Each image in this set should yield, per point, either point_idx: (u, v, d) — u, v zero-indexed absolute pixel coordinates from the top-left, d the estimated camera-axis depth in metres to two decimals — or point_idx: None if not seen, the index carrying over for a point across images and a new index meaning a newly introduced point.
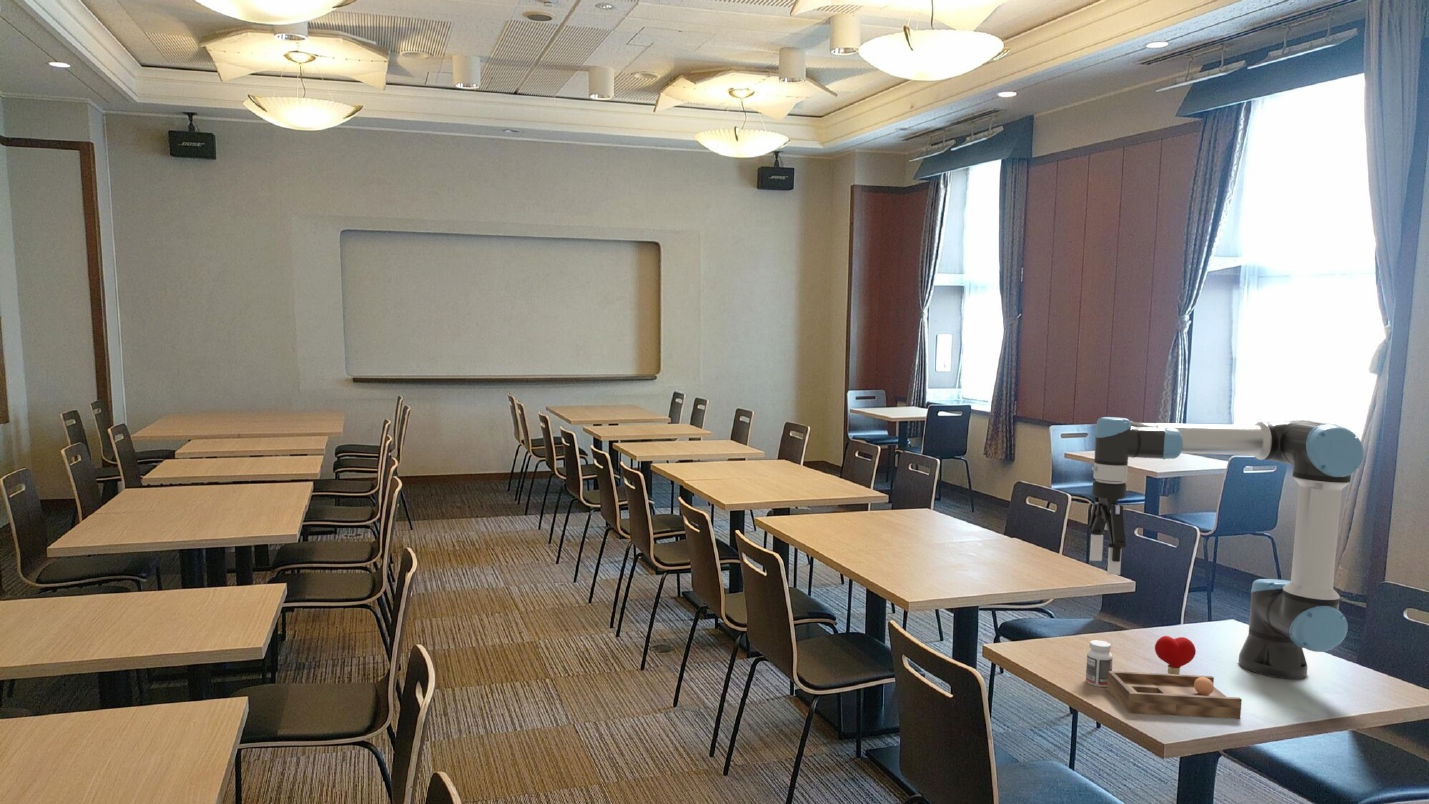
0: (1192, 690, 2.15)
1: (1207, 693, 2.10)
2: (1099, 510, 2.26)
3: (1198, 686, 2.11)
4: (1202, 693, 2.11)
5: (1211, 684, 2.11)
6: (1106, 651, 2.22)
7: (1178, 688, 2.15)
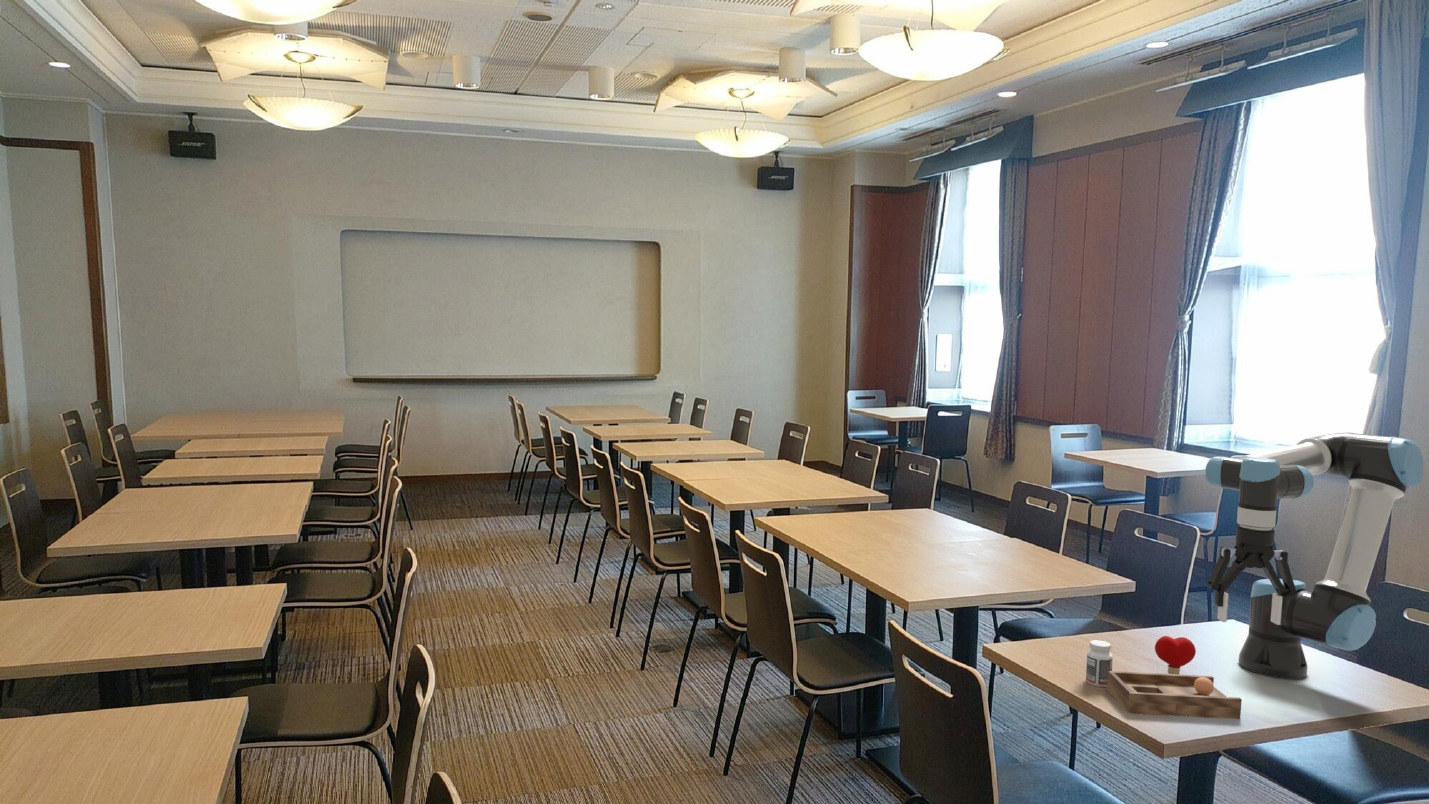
0: (1192, 690, 2.15)
1: (1207, 693, 2.10)
2: None
3: (1198, 686, 2.11)
4: (1202, 693, 2.11)
5: (1211, 684, 2.11)
6: (1106, 651, 2.22)
7: (1178, 688, 2.15)
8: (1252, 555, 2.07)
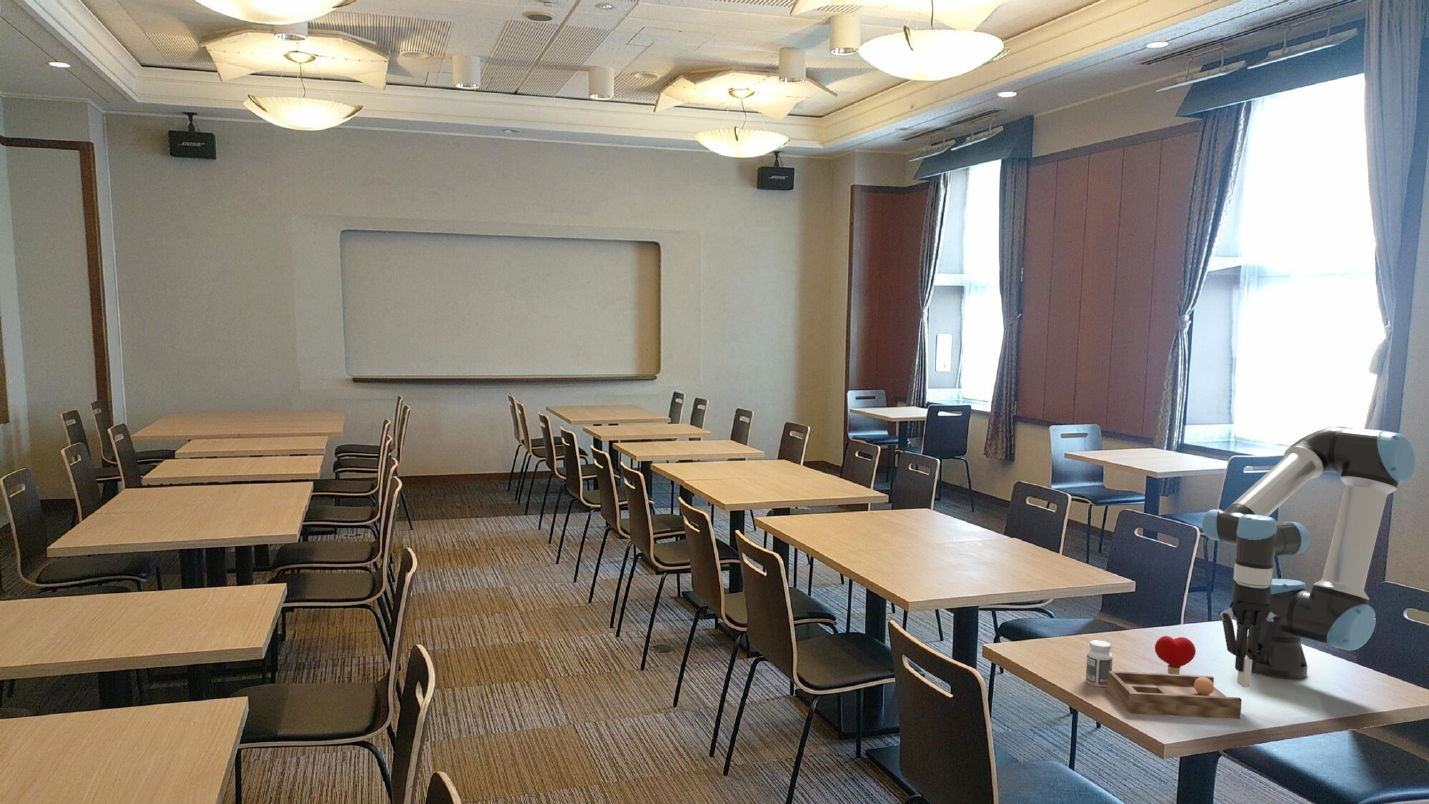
0: (1192, 690, 2.15)
1: (1207, 693, 2.10)
2: None
3: (1198, 686, 2.11)
4: (1202, 693, 2.11)
5: (1211, 684, 2.11)
6: (1106, 651, 2.22)
7: (1178, 688, 2.15)
8: (1248, 612, 2.08)
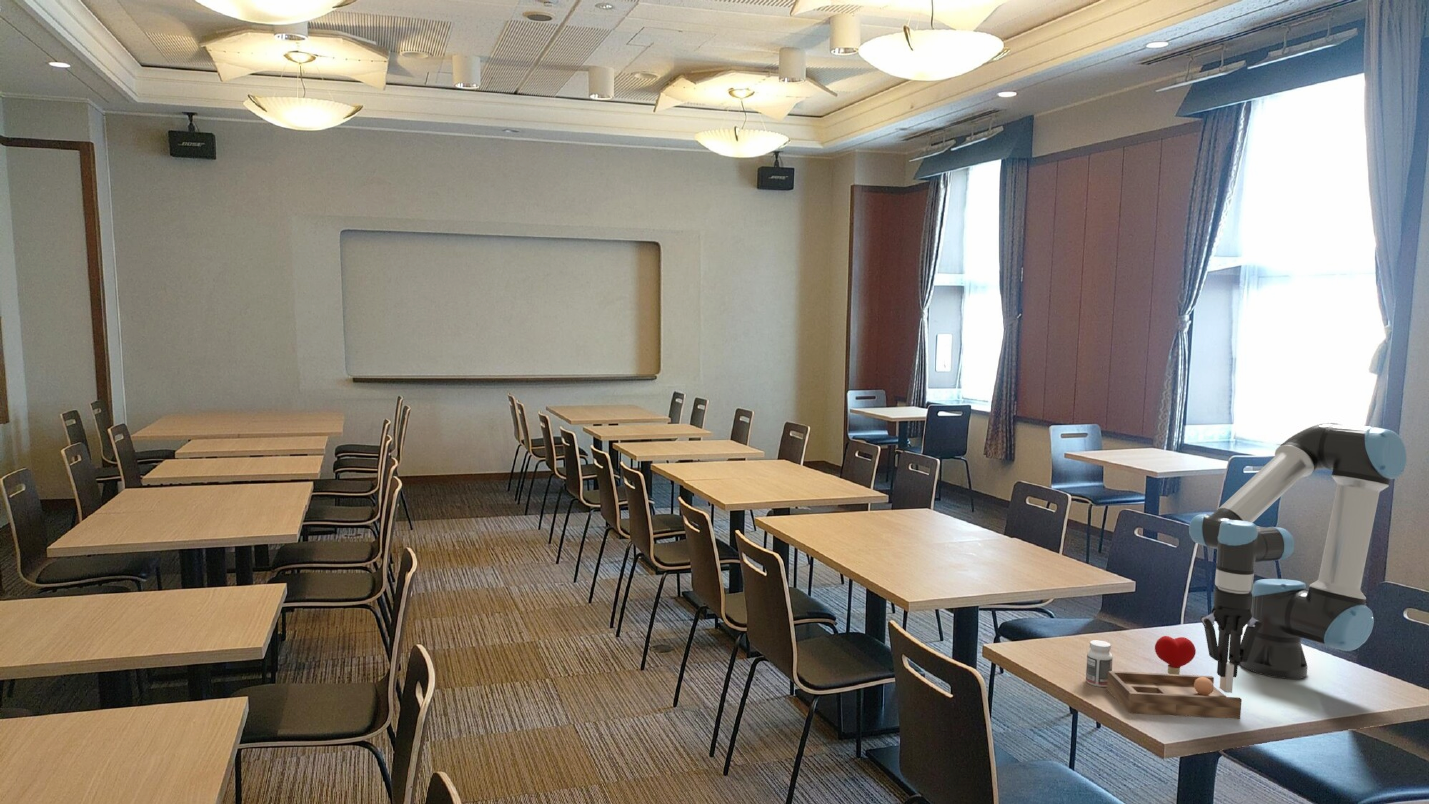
0: (1192, 690, 2.15)
1: (1207, 693, 2.10)
2: None
3: (1198, 686, 2.11)
4: (1202, 693, 2.11)
5: (1211, 684, 2.11)
6: (1106, 651, 2.22)
7: (1178, 688, 2.15)
8: (1229, 618, 2.09)
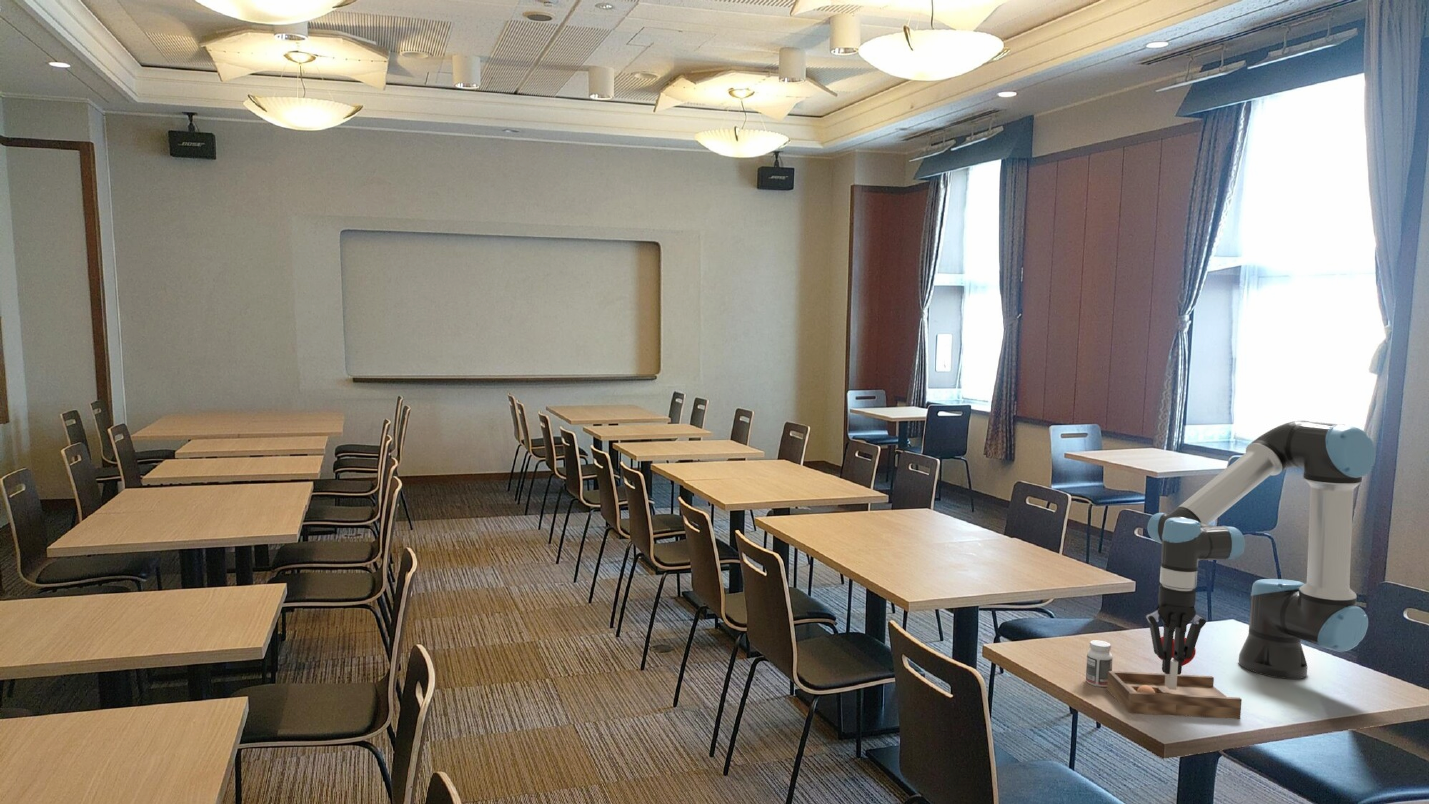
0: (1192, 690, 2.15)
1: None
2: None
3: None
4: None
5: (1150, 690, 2.11)
6: (1106, 651, 2.22)
7: (1178, 688, 2.15)
8: (1173, 615, 2.09)
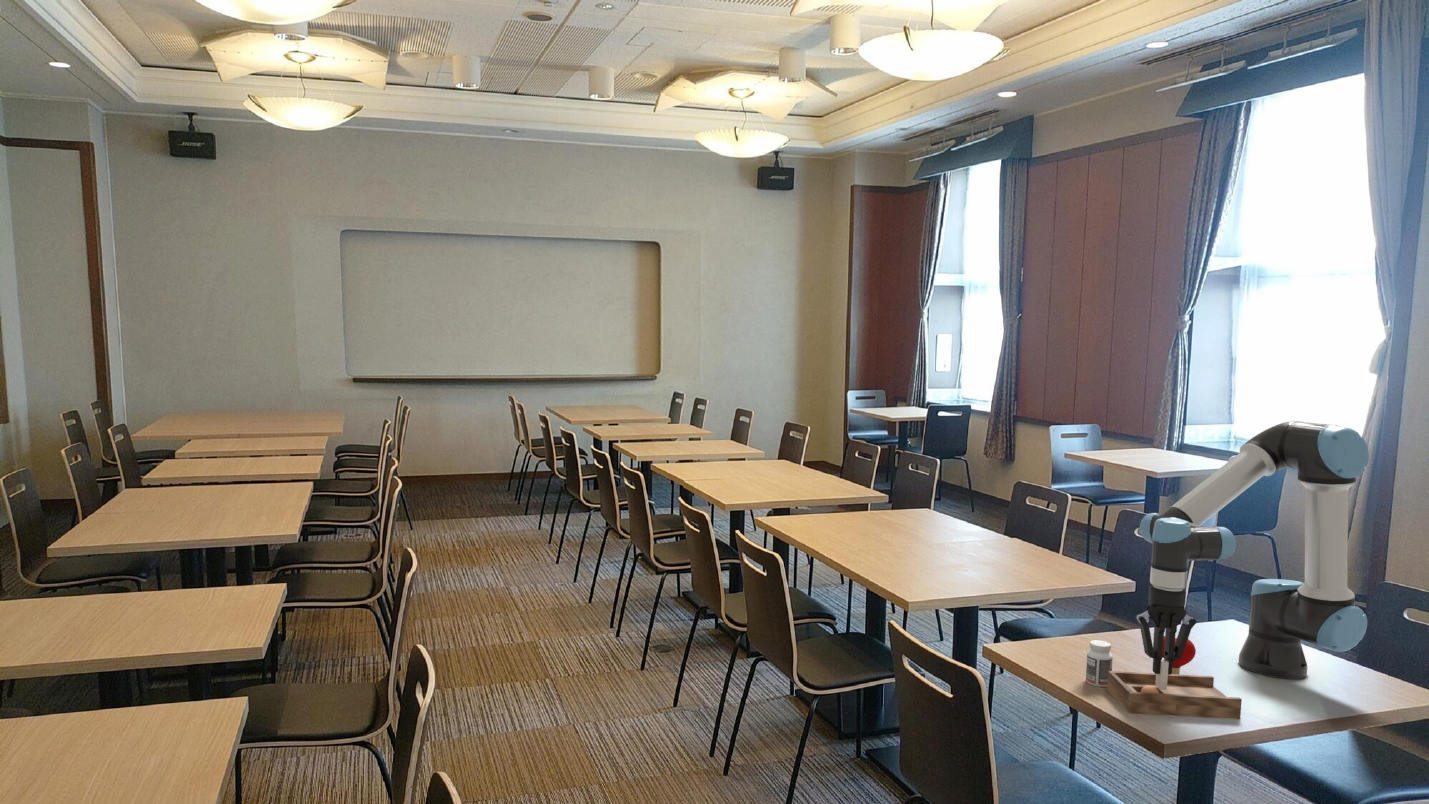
0: (1192, 690, 2.15)
1: None
2: None
3: None
4: None
5: (1156, 692, 2.11)
6: (1106, 651, 2.22)
7: (1178, 688, 2.15)
8: (1163, 615, 2.10)
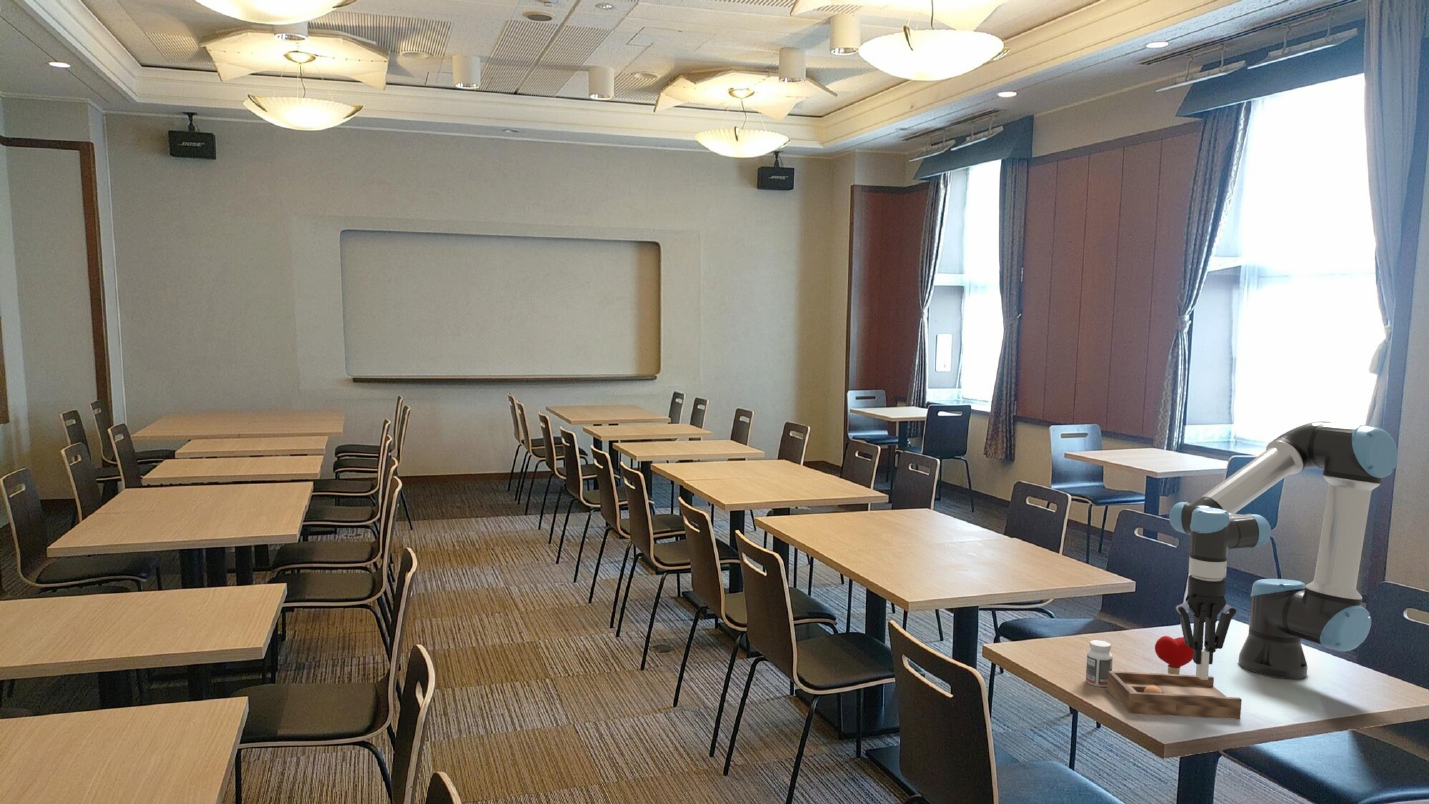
0: (1192, 690, 2.15)
1: None
2: None
3: None
4: None
5: None
6: (1106, 651, 2.22)
7: (1178, 688, 2.15)
8: (1203, 605, 2.09)
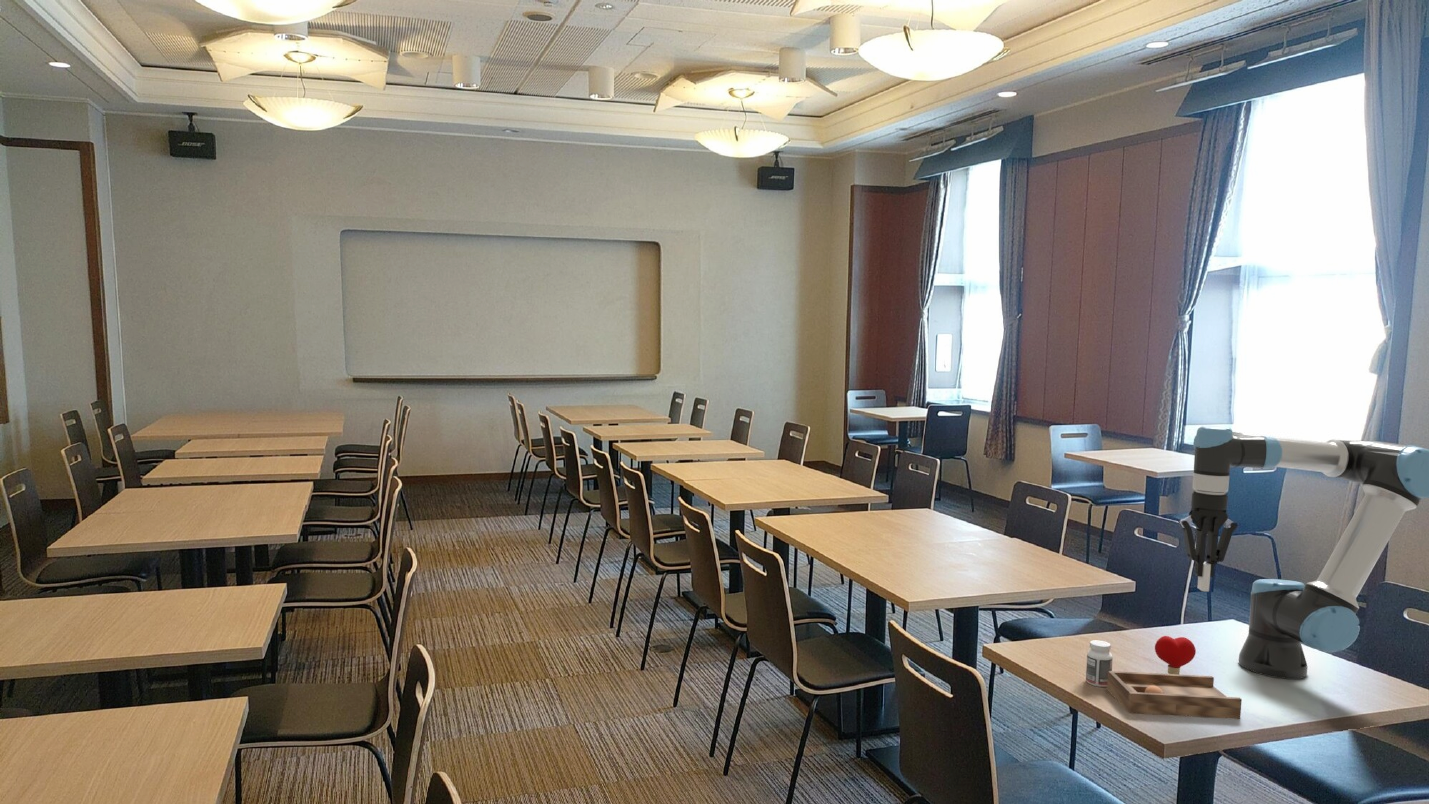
0: (1192, 690, 2.15)
1: None
2: None
3: (1149, 692, 2.12)
4: None
5: None
6: (1106, 651, 2.22)
7: (1178, 688, 2.15)
8: (1206, 519, 2.17)
